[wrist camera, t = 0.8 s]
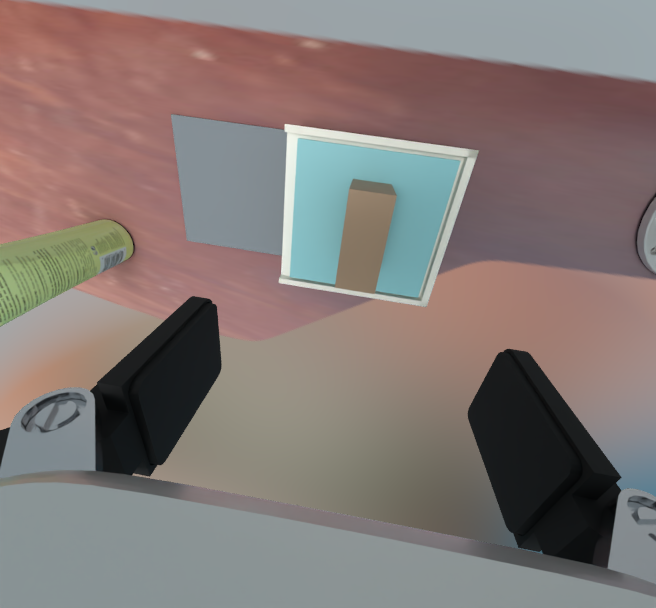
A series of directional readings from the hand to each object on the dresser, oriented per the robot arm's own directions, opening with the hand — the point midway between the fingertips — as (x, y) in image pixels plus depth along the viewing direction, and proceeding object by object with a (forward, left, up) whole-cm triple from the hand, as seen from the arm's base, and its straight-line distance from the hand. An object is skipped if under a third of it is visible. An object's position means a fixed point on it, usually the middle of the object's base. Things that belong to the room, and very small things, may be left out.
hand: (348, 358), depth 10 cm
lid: (0, 0, -18) cm, 18 cm away
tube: (+26, -13, -23) cm, 37 cm away
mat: (+10, -9, -23) cm, 26 cm away
